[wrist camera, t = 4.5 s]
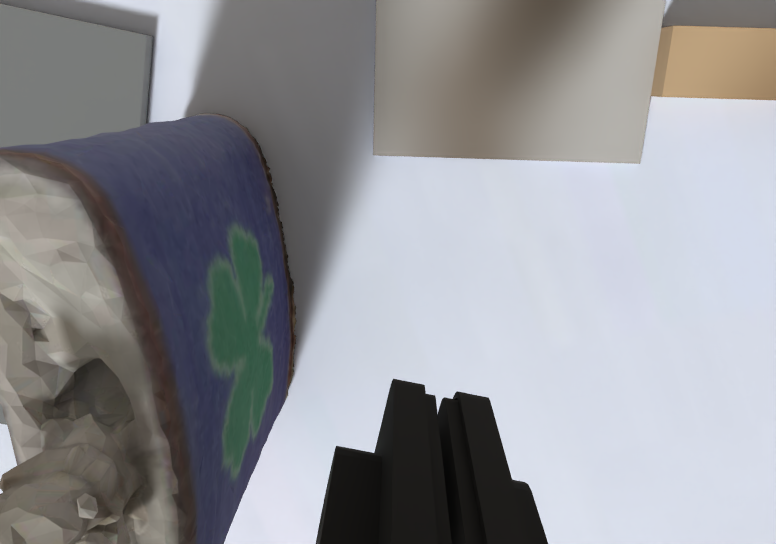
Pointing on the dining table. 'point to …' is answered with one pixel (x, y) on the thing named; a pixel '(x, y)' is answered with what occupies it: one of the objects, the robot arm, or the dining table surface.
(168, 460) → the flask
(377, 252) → the dining table surface
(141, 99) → the slate board
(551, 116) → the turner
